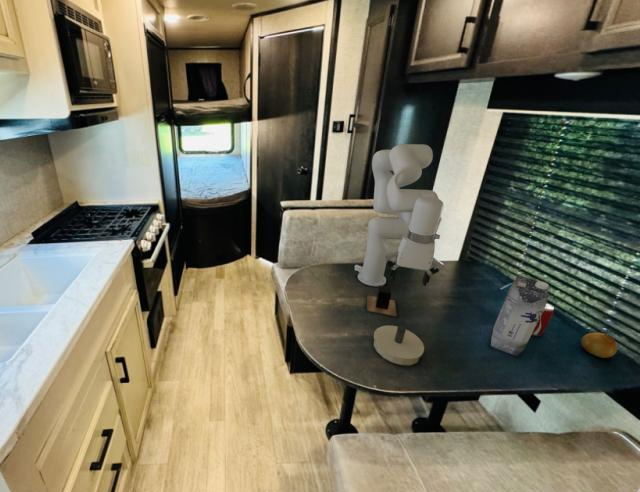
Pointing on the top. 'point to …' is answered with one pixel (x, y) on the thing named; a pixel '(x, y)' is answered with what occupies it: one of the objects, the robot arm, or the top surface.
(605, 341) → the fruit
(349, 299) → the top surface
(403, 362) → the cream hollow ring
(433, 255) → the robot arm
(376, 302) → the block
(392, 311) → the trivet
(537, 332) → the soda can
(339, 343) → the top surface
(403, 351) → the lid
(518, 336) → the juice carton
